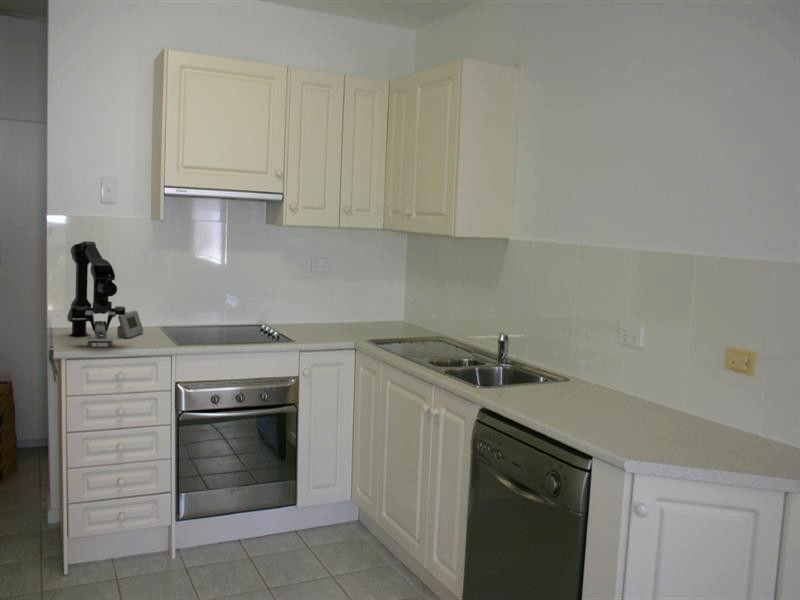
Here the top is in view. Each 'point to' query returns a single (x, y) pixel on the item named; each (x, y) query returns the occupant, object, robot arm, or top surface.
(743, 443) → the top surface
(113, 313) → the robot arm
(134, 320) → the digital clock
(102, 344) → the scale base
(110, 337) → the platform
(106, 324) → the cylinder
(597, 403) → the top surface
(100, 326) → the cylinder
